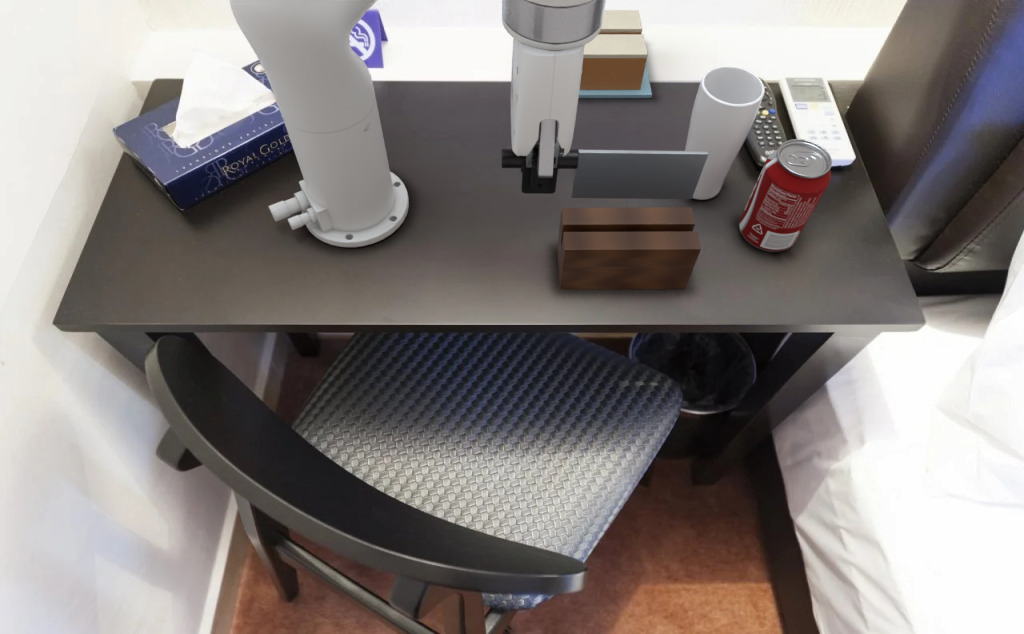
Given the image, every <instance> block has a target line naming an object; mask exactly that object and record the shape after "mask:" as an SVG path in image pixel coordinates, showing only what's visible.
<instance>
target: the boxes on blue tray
mask: <svg viewBox="0 0 1024 634" xmlns="http://www.w3.org/2000/svg"><path fill="white" fill-rule="evenodd" d="M648 55H649V54H648V50H647V44H646V39H645V34H643V25H642V20H641V15H640V11H639V10H638V9H604V15H603V22H602V27H601V30H600V32H599V34H598V35H597V36H596V37H595V38H594V39H593V40H592V41H590V42H589V43H587V44H585V47H584V56H583V65H582V74H581V82H580V90H579V98H578V99H652V97H653V92H652V87H651V83H650V77H649V73H648V67H647V59H648Z"/></svg>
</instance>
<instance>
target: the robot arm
mask: <svg viewBox="0 0 1024 634" xmlns="http://www.w3.org/2000/svg"><path fill="white" fill-rule="evenodd" d="M377 1H378V0H229V7H230V10H231V12H232V15H233V17H234V19H235V22H236V24H237V25H238V28H239V29H240V31H241V32H242V34H243V36H244V37H245V39H246V41H247V42H248V44H249V46H250V48H251V49H252V50H253V52H254V54H255V56H256V58H257V60H258V61H259V63H260V65H261V67H262V69H263V71H264V73H265V76H266V78H267V81H268V83H269V85H270V87H271V90H272V93H273V96H274V99H275V101H276V105H277V108H278V110H279V113H280V115H281V117H282V120H283V123H284V126H285V129H286V131H287V134H288V137H289V140H290V143H291V146H292V149H293V152H294V154H295V157H296V161H297V163H298V166H299V169H300V172H301V175H302V178H303V179H301V180H300V181H298V184H299V187H300V189H301V190H300V191H297V192H294V193H293V196H294V197H291V198H289V199H286V200H280V201H278V202H276V203H273V204H270V205H268V210H269V211H270V214H271V216H272V218H273V219H274V222H275V223H277V222H279V221H282V220H284V219H287V222H288V224H289V226H290V228H291V230H292V231H294V230H297V229H300V228H302V227H304V226H306V228H307V229H308V231H309V233H311V235H313V236H314V237H315V238H316V239H318V240H320V241H321V242H323V243H326V244H328V245H330V246H335V247H340V248H359V247H365V246H368V245H369V246H370V245H373V244H375V243H377V242H380V241H382V240H385V239H386V238H388V237H389V236H391V235H392V234H393V233H395V232H396V230H398V229H399V228H400V226H401V225H402V224H403V223H404V221H405V219H406V217H407V216H408V212H409V208H410V201H409V198H410V197H409V194H408V190H407V188H406V186H405V183H404V182H403V181H402V179H401V178H400V177H398V175H397V174H395V173H394V172H392V171H391V170H390V169H391V168H390V165H389V160H388V153H387V148H386V143H385V139H384V134H383V128H382V124H381V123H382V122H381V118H380V113H379V108H378V102H377V96H376V92H375V88H374V83H373V78H372V74H371V73H370V70H369V67H368V66H367V64H366V62H365V61H364V60H363V58H362V57H361V56H359V54H358V53H356V52H355V51H354V50H353V48H352V47H351V43H350V36H351V34H352V31H353V29H354V28H355V27H356V25H357V24H358V23H359V22H360V21H361V20H362V19H363V17H364V16H365V15H366V13H367V12H368V11H369V10H370V9H371V7H372V6H373V5H375V3H376V2H377ZM606 1H607V0H501V22H502V25H503V28H504V29H505V30H506V32H507V33H508V34H509V35H510V36H511V37H512V55H511V79H510V136H511V137H510V138H511V140H510V141H511V148H512V150H513V152H514V153H515V154H516V155H517V156H526V158H523V168H520V172H521V174H522V175H521V185H520V186H521V193H523V194H532V195H533V194H536V195H537V194H541V195H543V194H545V195H546V194H549V195H551V194H555V193H556V190H557V181H558V172H559V169H558V165H559V159H558V155H559V149H560V154H562V155H563V156H565V155H566V154H567V153H568V152H569V151H570V149H572V143H573V138H574V133H575V127H576V120H577V112H578V105H579V99H580V98H579V90H580V82H581V74H582V65H583V56H584V47H585V44H587V43H589V42H590V41H592V40H593V39H594V38H595V37H596V36H597V35H598V34H599V32H600V30H601V27H602V22H603V15H604V10H606V8H605V7H606V3H607V2H606ZM534 149H539V152H538V153H533V151H534ZM300 212H301V214H297V213H300ZM295 214H297V215H295ZM292 215H294V216H292ZM291 216H292V217H291Z"/></svg>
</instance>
